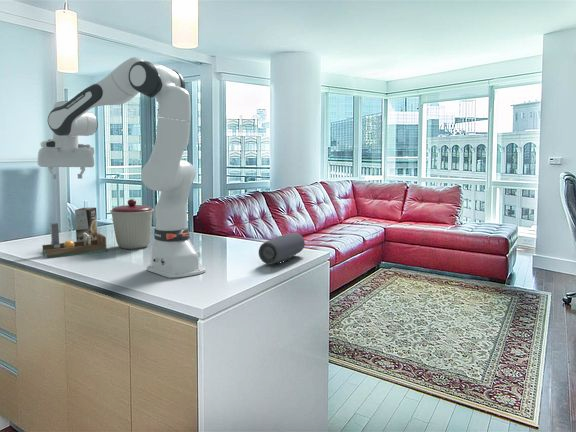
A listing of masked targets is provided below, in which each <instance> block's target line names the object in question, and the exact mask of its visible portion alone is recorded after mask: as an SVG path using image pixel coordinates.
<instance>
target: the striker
mask: <svg viewBox="0 0 576 432" xmlns="http://www.w3.org/2000/svg"><path fill="white" fill-rule="evenodd" d="M59 232H60V231H59V223H58V222H51V223H50V237H51V238H50V239H51V241H50V244H51V248H52V249H60V244H59V243H60V234H59Z"/></svg>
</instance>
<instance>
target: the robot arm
mask: <svg viewBox="0 0 576 432" xmlns="http://www.w3.org/2000/svg"><path fill="white" fill-rule="evenodd" d="M139 93H140V94H142V95H144V96H146V97H148V98H150V99H151V98H155V99H156V101H157V103H158V115H157V123H156V125H157V126H156V136H155V142H154V145H153V148H152V151H151V154H150V157H149V158H148V161H147V163H145V164H144V166H143V167H142V169H141V173H140V177H141V178H140V179H141V181H142V183H143V184H144V186H145V187H146V188H147V189H149V190H152V191H155V192H160V195H159V199H158V201H157V203H156V204H155V206H154V222H155V223H154V224H155V225H154V226H155V228H154V230H153V231H154V232H153V235H154V241H153V244H152V245H151V246H150V265H148V266H146V271H148V272H152V273H154V274H157V275H160V276H163V277H166V278H173V279H174V278H183V277H184V278H185V277H191V276H195V275H200V274H203V273H205V272H206V271H207V270H206V268H205V267H204V266H203V265H202V264H201V263H200V262H199V258H200V257H201V252H200V251H199V250H196V247H195V246H194V245H193V244H192V242H191V240H190V238H191V237H190V231H189V227H188V216H187V215H188V201H189V196H190V192H191V187H192V184H193V182H194V181H195V179H196V170H195V167H194V166H193V164H192V163H191V162H189V161H186V160H184V159H182V156H183V154H184V151H185V150H186V148H187V147H188V145H189V142H190V132H191V119H192V104H191V103H192V102H191V95H190V93H189V92H188V90H186V81H185V79H184V77H183V76H182V74H181V73H180V72H178V71H177V70H175V69H171V68H169V67H166V66H165V65H163V64H159V63H156V62H155V63H154V62H151V61H147V60H144V59H142V58H140V57H136V56H133V57H130V58H128V59H126V60H125V61H123V62H122V63H120V64H119V65H118V66H117V67H115V68H114V70H112V71H111V72H110V73H108V75H107V76H105V77H103V78H102V79H101V80H99V81H97V82H95V83H93V84H90V85H89V86H88V87H86V88H84V89H83V90H81V91H80V92H79V93H78V94H76V95H75V96H73V97H72V98H71V99H70V100H63V101H57V102H55V103H54V104H53V108H52V110H51V111H50V112H49V113H48V116H47V124H48V127H49V128H50V130H51V131H52V132H53V134H52V137H53V138H52V139H47V140H44V141H40V149H38V154H37V165H38V166H39V168H40V167H41V168H47V170H48V172H49V173H50V174H51V179H52V180H53V179H54V180H56V179H57V173H54V172H53V170H54V168H80V169H79V170H80V172H79V173H77V179H83V175H84V173H85V171H86V168H94V166H95V157H94V155H95V148H94V146H92V145H90V144H83V143H79V137H80V136H83V137H88V136H89V137H90V136H92V135H94V134H95V133H96V132H97V130H98V127H99V122H98V119H97V116H96V115H95V113H93V112H92V111H89V110H91V109H94V108H96V107H103V106H119V105H124V104H126V103H129V101H131V100H132V99H133V98H135V97H136V96H137V95H138V94H139Z"/></svg>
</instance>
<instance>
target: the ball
mask: <svg viewBox="0 0 576 432" xmlns="http://www.w3.org/2000/svg"><path fill="white" fill-rule="evenodd" d="M74 242H75V241H73V240H71V239H70V240H69V239H68V240H66V241H64V242H63V243H64V248H69V247H74V246H75V244H74Z"/></svg>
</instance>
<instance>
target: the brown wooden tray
mask: <svg viewBox="0 0 576 432" xmlns="http://www.w3.org/2000/svg"><path fill="white" fill-rule="evenodd" d="M83 234H84V235H83V238H84V241H78V242H77V241H73V242H74V244H75V246H74V247H69V248H64V243H65V242H62V243H61V242H59V244H60V249H52V248H51V243H50V244H42V254H44V256H45V257H46V258H47V259H50V258H51V259H52V258H59V257H67V256H68V257H69V256H76V255H84V254H93V253H100V252H101V253H102V252H107V240H106V239H107V238H106V236H105V235H103V234H101V233H100V232H98V233H96V240H91V236H90V235H88V234H87V233H83ZM87 237H88V241H87Z"/></svg>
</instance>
